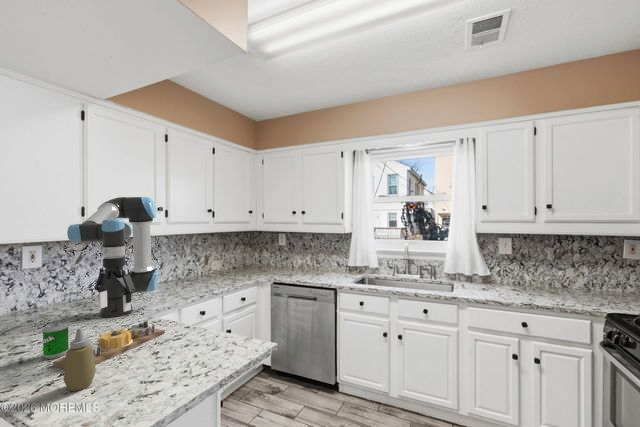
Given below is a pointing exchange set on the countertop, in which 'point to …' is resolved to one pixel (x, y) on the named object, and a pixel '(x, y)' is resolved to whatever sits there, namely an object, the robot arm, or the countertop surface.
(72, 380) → the squeeze bottle
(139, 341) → the gear board
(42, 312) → the countertop surface
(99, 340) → the ochre gear
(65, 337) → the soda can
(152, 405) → the countertop surface
